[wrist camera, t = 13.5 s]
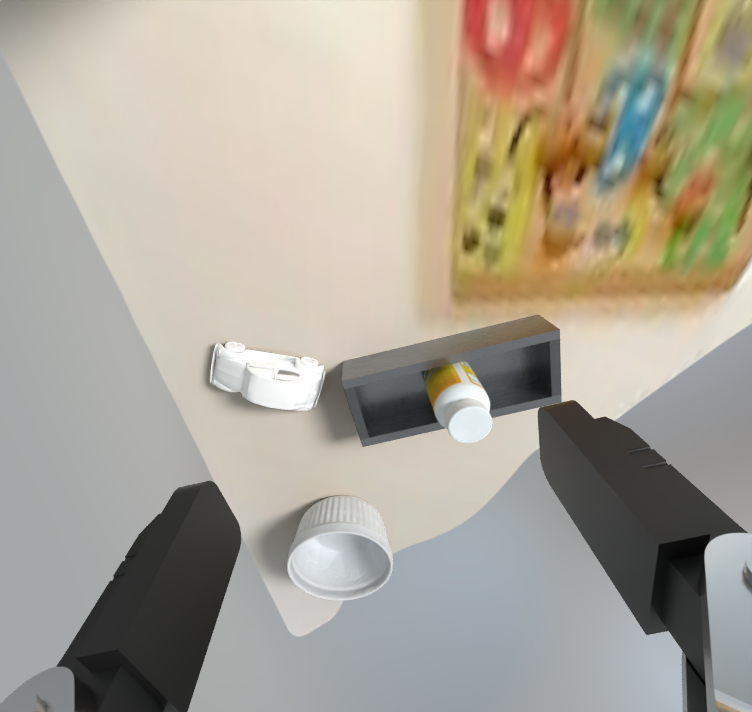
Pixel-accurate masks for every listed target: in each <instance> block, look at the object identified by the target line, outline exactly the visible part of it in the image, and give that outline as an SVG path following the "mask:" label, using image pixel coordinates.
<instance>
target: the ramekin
mask: <svg viewBox="0 0 752 712" xmlns="http://www.w3.org/2000/svg"><path fill="white" fill-rule="evenodd" d="M392 569H393V557H392V552H391V548H390V546H389V544H388V539H387V534H386V529H385V525H384V522H383V519H382V517H381V515H380V514H379V512H378V511H377V510H376V509H375V508H374V507H373V506H372V505H371V504H369V503H368V502H366V501H364V500H362V499H360V498H357V497H353V496H346V495H341V496H332V497H328V498H325V499H323V500H321V501H319V502H317V503H315V504H314V505H313V506H311V507H310V508H309V509H308V510H307V511H306V512H305V514H304V516H303V517H302V519H301V521H300V524H299V526H298V529H297V532H296V536H295V539H294V542H293V544H292V545H291V547H290V550H289V553H288V558H287V572H288V575H289V577H290V579H291V580H292V582H293V583H294V584H295V585H296V586H297V587H298V588H299V589H301V590H302V591H304V592H306V593H308V594H310V595H312V596H315V597H318V598H322V599H327V600H352V599H357V598H361V597H364V596H366V595H369V594H371V593H373V592H374V591H376V590H378V589H379V588H381V587H382V586H383V585H384V584H385V583H386V582H387V580H388V579H389V577H390V575H391V573H392Z"/></svg>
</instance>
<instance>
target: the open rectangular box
mask: <svg viewBox="0 0 752 712" xmlns="http://www.w3.org/2000/svg"><path fill="white" fill-rule="evenodd" d="M463 361H466V362H467V363H468V364H469V366H470V367H471V369H472V370H473V372H474V374H475V375H476V377H477V379H478V380H479V382H480V383H481V385H482V387H483V388H484V390H485V391H486V393H487V395H488V397H489V400H490V411H489V413H490V415H491V417H492V418H494V417H498V416H502V415H507V414H511V413H516V412H520V411H525V410H529V409H534V408H538V407H543V406H547V405H551V404H556V403H560V402H561V363H560V329H558V328H557V327H555V326H554V325H553V324H551V323H550V322H548V321H547V320H546V319H544V318H543V317H541V316H540V315H536V316H531V317H527V318H523V319H519V320H515V321H510V322H506V323H502V324H498V325H494V326H490V327H485V328H481V329H477V330H473V331H469V332H465V333H460V334H456V335H452V336H448V337H444V338H439V339H435V340H431V341H427V342H423V343H419V344H414V345H410V346H406V347H402V348H398V349H394V350H389V351H385V352H381V353H377V354H373V355H368V356H364V357H360V358H356V359H352V360H348V361H343V367H342V380H341V381H342V384H343V388H344V391H345V394H346V397H347V400H348V403H349V406H350V409H351V412H352V415H353V418H354V421H355V425H356V428H357V431H358V434H359V437H360V440H361V443H362V446H363V447H364V446H369V445H373V444H378V443H382V442H387V441H391V440H396V439H400V438H405V437H409V436H413V435H418V434H422V433H427V432H431V431H436V430H440V429H445V428H444V427H443V426H442V425H441V424H440V423H439V422H438V420H437V418H436V416H435V413H434V410H433V407H432V404H431V402H430V399H429V396H428V393H427V390H426V387H425V383H424V374H425V371H426V370H429V369H433V368H437V367H442V366H446V365H450V364H454V363H459V362H463Z"/></svg>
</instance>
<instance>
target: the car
mask: <svg viewBox="0 0 752 712" xmlns="http://www.w3.org/2000/svg"><path fill="white" fill-rule="evenodd" d="M217 346H218V348H217ZM244 349H245V346H244V345H243V344H240V343H236V342H227V343H226V344H225V348H224V347H223V345H222V344H220V343H219V344H218V342H217V344H215V348H214V352H213V357H212V363H211V371H210V383H212V384H213V385H215V386H216V387H218V388H219V389H222V390H224V391H227V392H241V393H242V396H243V397H245V398H246V399H247V400H249V401H251V402H252V403H255V404H258V405H262V406H265V407H270V408H275V409H282V410H295V411H308V410H311V409H312V408H313V405H314V402H315V399H316V398H317V400H316V403H315V405H314V407H316V404H317V402H318V399H319V396H320V393H321V390H322V386H323V382H324V377H325V371H324V374H323V377H322V373H323V369H324V365H319V366H318V361H317V360H315V359H313V358H309V357H302V358H301V359H300V358H297V357H293V356H287V355H280V354H274V353H267V352H261V351H254V350H248V349H245V350H244ZM216 352H217V354H216ZM215 355H216V364H215V369H214V362H215ZM213 369H214V374H213ZM322 378H323V379H322ZM321 382H322V383H321ZM317 396H318V397H317ZM243 397H242V398H243Z"/></svg>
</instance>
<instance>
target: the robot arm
mask: <svg viewBox="0 0 752 712" xmlns="http://www.w3.org/2000/svg"><path fill="white" fill-rule="evenodd" d="M538 427H539V444H540V459H541V464H542V467H543V470H544V473H545V476H546V478H547V480H548V482H549V484H550V486H551V487H552V489H553V490H554V492H555V494H556V495H557V497H558V498H559V500H560V501H561V503H562V504H563V506H564V507H565V509H566V511H567V512H568V514H569V515H570V517H571V518H572V520H573V521H574V523H575V525H576V526H577V528H578V529H579V531H580V532H581V534H582V536H583V537H584V539H585V540H586V542H587V543H588V545H589V546H590V548H591V550H592V551H593V553H594V554H595V556H596V557H597V559H598V561H599V562H600V564H601V565H602V566H603V568H604V570H605V571H606V573H607V575H608V576H609V577H610V579H611V581H612V582H613V584H614V585H615V587H616V589H617V590H618V592H619V593H620V595H621V596H622V598H623V599H624V601H625V603H626V604H627V606H628V607H629V609H630V610H631V612H632V613H633V615H634V617H635V618H636V620H637V621H638V623H639V624H640V626H641V627H642V629H643V631H644V632H645V634H646V635H649V634H654V633H660V632H665V631H669V632H670V633H671V635H672V636H673V638H674V639H675V641H676V642H677V643H678V645H679V646H680V648H681V649H682V651H683V652H682V691H683V692H682V694H683V712H752V534H749V533H747V532H746V531H745V530H744V529H743V528H741V527H740V526H739V525H738V524H737V523H735V522H734V521H733V520H732V519H731V518H730V517H729V516H728V515H726V514H725V513H724V512H723V511H722V510H721V509H720V508H719V507H718V506H716V505H715V504H714V503H713V502H712V501H711V500H710V499H709V498H707V497H706V496H705V495H704V494H703V493H702V492H701V491H700V490H698V489H697V488H696V487H695V486H694V485H693V484H692V483H691V482H689V481H688V480H687V479H686V478H685V477H684V476H683V475H682V474H681V473H679V472H678V471H677V470H676V469H675V468H674V467H673V466H671V464H670V465H668V464H667V463H666V460H665V459H664V458H663V457H662V456H660V455H659V454H658V453H657V452H656V451H655V450H654V449H653V450H651V449H650V446H649V445H648V444H647V443H646V442H645V441H643V439H641V438H640V437H639V436H638V435H637V434H636V433H635V432H633V431H632V430H631V429H630V428H628V427H626V426H624V425H622V424H620V423H617V422H615V421H613V420H611V419H609V418H607V417H601V418H597V419H594V418H593V417H592V416H591V415H590V414H589V413H588V412H587V411H586V410H585V409H584V408H583V407H582V406H581V405H580V404H579V403H577V402H576V401H573V400H571V401H567V402H562V403H558V404H553V405H549V406H544V407H540V408H539V410H538ZM240 544H241V531H240V526H239V523H238V521H237V519H236V518H235V516H234V514H233V513H232V511H231V509H230V507H229V506H228V504H227V502H226V500H225V499H224V497H223V495H222V493H221V492H220V490H219V488H218V487H217V485H216V484H215V483H214V482H212V481H206V482H202V483H197V484H193V485H188V486H184V487H180V488H178V489H177V490H176V491H175V492H174V493H173V495H172V496H171V498H170V500H169V501H168V503H167V505H166V506H165V508H164V510H163V511H162V513H161V514H158V515H157V516H156V518H155V519H154V520H153V521H152V522H151V523H150V524H149V525H148V526H147V527H146V528H145V529H144V530H143V531H142V532H141V533H140V534H139V535H138V537H137V539H136V540H135V542H134V543H133V545H132V547H131V548H130V550H129V551H128V553H127V555H126V556H125V558H126V559H125V561H122V563H121V564H120V566H119V568H118V569H117V571H116V572H115V574H114V579H113V581H110V582H109V584H108V585H107V587H106V588H105V590H104V592H103V593H102V595H101V596H100V598H99V600H98V601H97V603H96V605H95V606H94V608H93V610H92V611H91V613H90V614H89V616H88V618H87V619H86V621H85V622H84V624H83V625H82V627H81V629H80V630H79V632H78V633H77V635H76V637H75V638H74V640H73V642H72V643H71V645H70V646H69V648H68V649H67V651H66V653H65V654H64V656H63V657H62V659H61V661H60V662H59V664H58V665H57V667H54V668H50V669H48V670H45V671H43V672H41V673H39V674H37V675H35V676H34V677H32V678H31V679H29V680H28V681H26V682H25V683H23V684H22V685H21V686H20V687H18V688H17V689H16V690H15V691H14V692H13V693H11V694H10V695H9V696H8V697H7V698H6V699H5V700H4V701H3V702H2V703H1V704H0V712H187V711H188V708H189V705H190V702H191V698H192V695H193V692H194V689H195V686H196V683H197V680H198V677H199V673H200V670H201V667H202V664H203V661H204V658H205V655H206V652H207V649H208V645H209V643H210V639H211V636H212V633H213V630H214V627H215V624H216V621H217V618H218V615H219V612H220V609H221V605H222V602H223V599H224V596H225V593H226V590H227V587H228V584H229V581H230V577H231V574H232V571H233V568H234V565H235V562H236V559H237V556H238V553H239V549H240Z"/></svg>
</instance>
